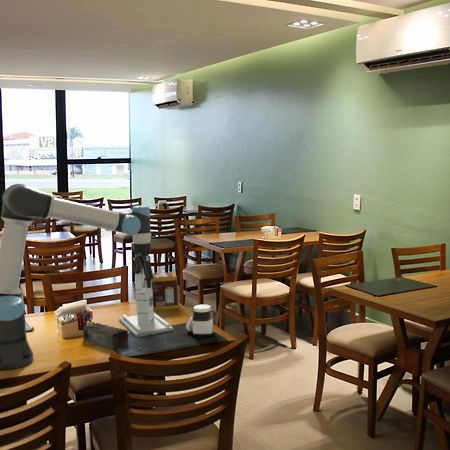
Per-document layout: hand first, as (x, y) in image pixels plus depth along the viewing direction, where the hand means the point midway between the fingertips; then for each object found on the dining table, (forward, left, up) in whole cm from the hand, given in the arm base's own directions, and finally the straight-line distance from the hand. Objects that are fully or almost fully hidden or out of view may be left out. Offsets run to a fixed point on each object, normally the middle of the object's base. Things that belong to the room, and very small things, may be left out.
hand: (143, 291), depth 241 cm
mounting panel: (+1, 0, -15) cm, 15 cm away
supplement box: (+26, -16, -16) cm, 34 cm away
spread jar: (-21, -16, -16) cm, 31 cm away
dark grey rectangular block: (-12, +20, -16) cm, 28 cm away
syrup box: (0, 0, -14) cm, 14 cm away
